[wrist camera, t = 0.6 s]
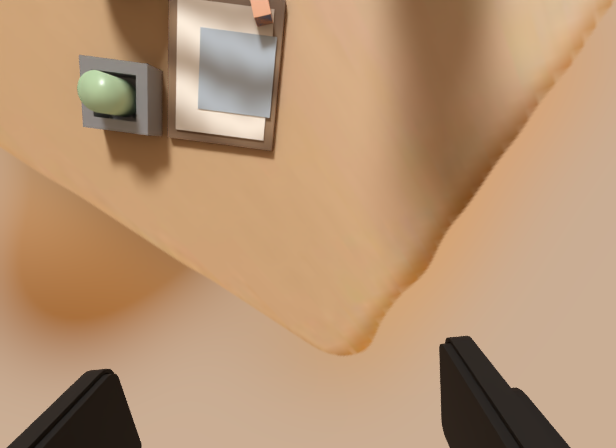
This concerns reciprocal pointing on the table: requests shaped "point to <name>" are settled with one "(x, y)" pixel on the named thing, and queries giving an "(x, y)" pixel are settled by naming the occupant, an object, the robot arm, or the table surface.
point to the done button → (107, 94)
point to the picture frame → (223, 72)
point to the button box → (147, 96)
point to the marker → (261, 12)
